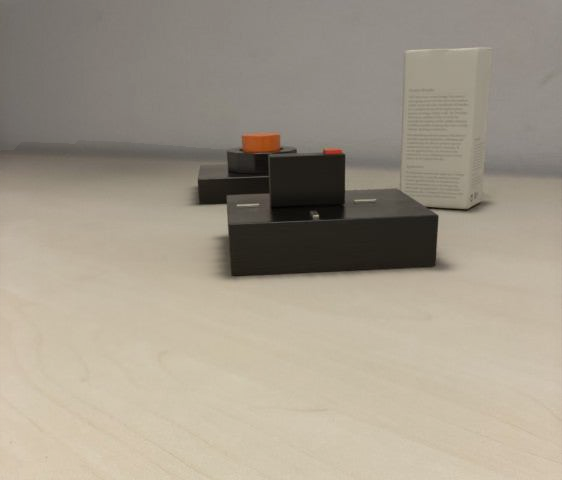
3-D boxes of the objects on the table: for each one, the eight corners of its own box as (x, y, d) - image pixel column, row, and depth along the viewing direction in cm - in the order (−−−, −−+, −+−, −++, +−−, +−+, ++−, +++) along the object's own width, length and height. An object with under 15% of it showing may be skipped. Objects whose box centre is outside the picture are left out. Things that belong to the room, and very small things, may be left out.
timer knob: (271, 207, 43) (269, 152, 42) (269, 203, 45) (268, 150, 43) (345, 204, 44) (345, 149, 42) (341, 200, 45) (341, 147, 44)
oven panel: (231, 275, 40) (228, 220, 39) (228, 238, 50) (226, 192, 48) (435, 266, 41) (439, 212, 40) (396, 231, 50) (397, 185, 49)
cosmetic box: (482, 202, 60) (496, 47, 55) (467, 211, 56) (480, 46, 52) (414, 198, 63) (422, 50, 58) (396, 205, 59) (402, 49, 55)
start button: (243, 156, 64) (242, 136, 64) (241, 152, 68) (241, 133, 67) (282, 155, 65) (281, 134, 64) (279, 150, 68) (278, 131, 67)
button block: (199, 204, 63) (196, 157, 61) (201, 187, 72) (198, 146, 70) (332, 198, 63) (332, 152, 62) (317, 182, 73) (317, 142, 71)
